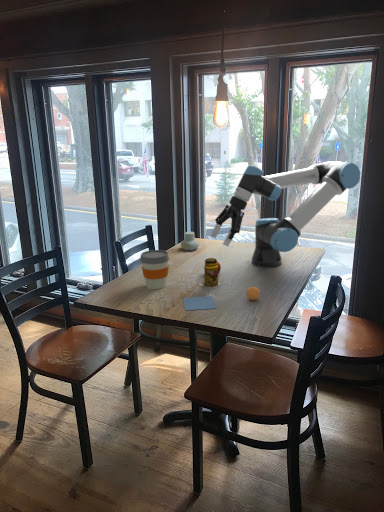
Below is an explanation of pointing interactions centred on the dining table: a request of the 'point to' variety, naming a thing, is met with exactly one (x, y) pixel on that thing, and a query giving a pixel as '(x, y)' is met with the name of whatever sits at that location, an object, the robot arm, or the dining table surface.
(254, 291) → the ball
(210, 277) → the condiment
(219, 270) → the fruit
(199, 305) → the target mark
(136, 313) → the dining table surface
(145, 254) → the reusable coffee cup
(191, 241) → the air freshener
